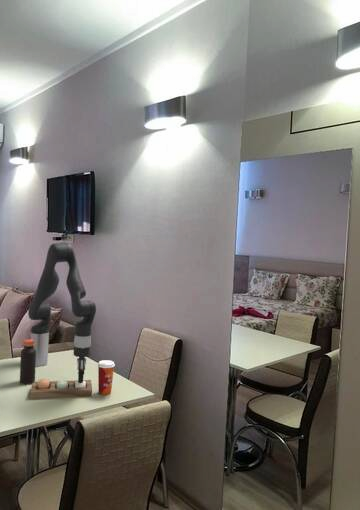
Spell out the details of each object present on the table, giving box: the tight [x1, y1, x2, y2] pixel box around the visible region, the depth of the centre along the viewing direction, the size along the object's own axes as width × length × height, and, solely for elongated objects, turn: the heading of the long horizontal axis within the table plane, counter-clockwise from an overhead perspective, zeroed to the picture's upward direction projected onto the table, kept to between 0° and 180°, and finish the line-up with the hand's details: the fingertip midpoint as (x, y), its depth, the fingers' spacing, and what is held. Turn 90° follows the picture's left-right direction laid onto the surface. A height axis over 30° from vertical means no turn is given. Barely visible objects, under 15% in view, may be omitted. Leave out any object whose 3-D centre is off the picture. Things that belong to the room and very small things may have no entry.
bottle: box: [19, 338, 37, 385], centre depth 192 cm, size 7×7×20 cm
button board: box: [29, 379, 93, 400], centre depth 183 cm, size 12×26×3 cm, turn 105°
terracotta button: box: [37, 378, 50, 389], centre depth 181 cm, size 5×5×4 cm
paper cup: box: [97, 359, 116, 396], centre depth 186 cm, size 8×8×14 cm
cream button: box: [75, 380, 86, 388], centre depth 185 cm, size 5×5×4 cm
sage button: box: [56, 380, 68, 389], centre depth 183 cm, size 5×5×4 cm
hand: (80, 382), depth 185 cm, fingers closed
